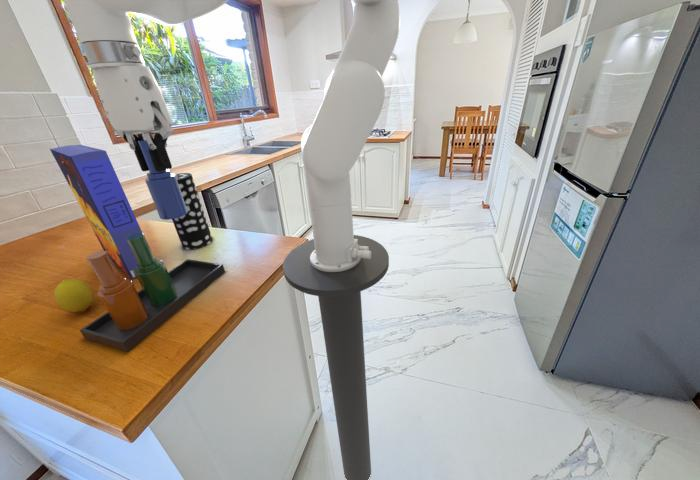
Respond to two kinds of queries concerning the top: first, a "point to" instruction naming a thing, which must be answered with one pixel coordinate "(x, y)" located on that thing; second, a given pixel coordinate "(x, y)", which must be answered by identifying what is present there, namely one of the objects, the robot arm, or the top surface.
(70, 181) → the cereal box
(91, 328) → the tray
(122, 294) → the amber bottle
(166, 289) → the green bottle
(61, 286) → the lemon
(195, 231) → the spotted tube
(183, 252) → the top surface
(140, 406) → the top surface
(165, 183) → the blue bottle
